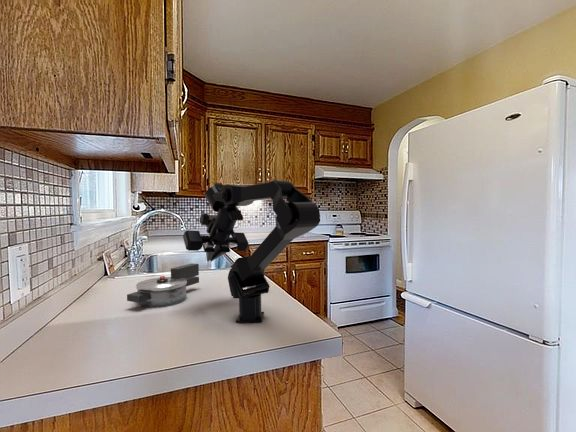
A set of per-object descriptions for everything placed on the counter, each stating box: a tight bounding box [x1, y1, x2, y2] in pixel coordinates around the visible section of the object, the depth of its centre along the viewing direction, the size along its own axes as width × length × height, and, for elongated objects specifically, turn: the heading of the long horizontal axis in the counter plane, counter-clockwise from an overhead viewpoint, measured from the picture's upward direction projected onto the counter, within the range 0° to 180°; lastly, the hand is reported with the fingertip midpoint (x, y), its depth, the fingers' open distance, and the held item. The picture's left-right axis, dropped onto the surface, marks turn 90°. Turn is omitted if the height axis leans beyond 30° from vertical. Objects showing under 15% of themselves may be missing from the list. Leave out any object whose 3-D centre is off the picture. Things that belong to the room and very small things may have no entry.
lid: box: [135, 263, 200, 291], centre depth 99 cm, size 22×15×4 cm, turn 155°
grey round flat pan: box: [126, 276, 200, 309], centre depth 97 cm, size 25×14×4 cm, turn 155°
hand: (209, 260), depth 94 cm, fingers closed
